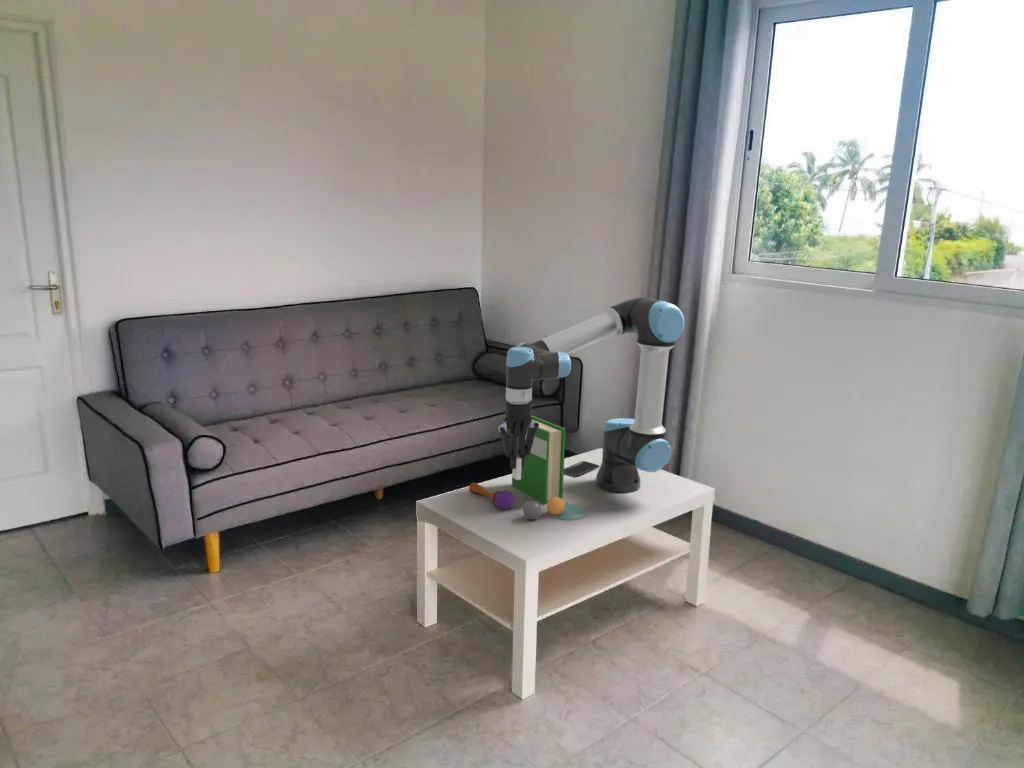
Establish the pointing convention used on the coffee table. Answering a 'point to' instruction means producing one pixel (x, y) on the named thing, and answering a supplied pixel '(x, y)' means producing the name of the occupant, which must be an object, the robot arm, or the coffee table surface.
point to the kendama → (495, 496)
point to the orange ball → (555, 505)
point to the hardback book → (543, 463)
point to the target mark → (571, 512)
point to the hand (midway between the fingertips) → (516, 478)
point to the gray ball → (532, 510)
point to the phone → (580, 469)
